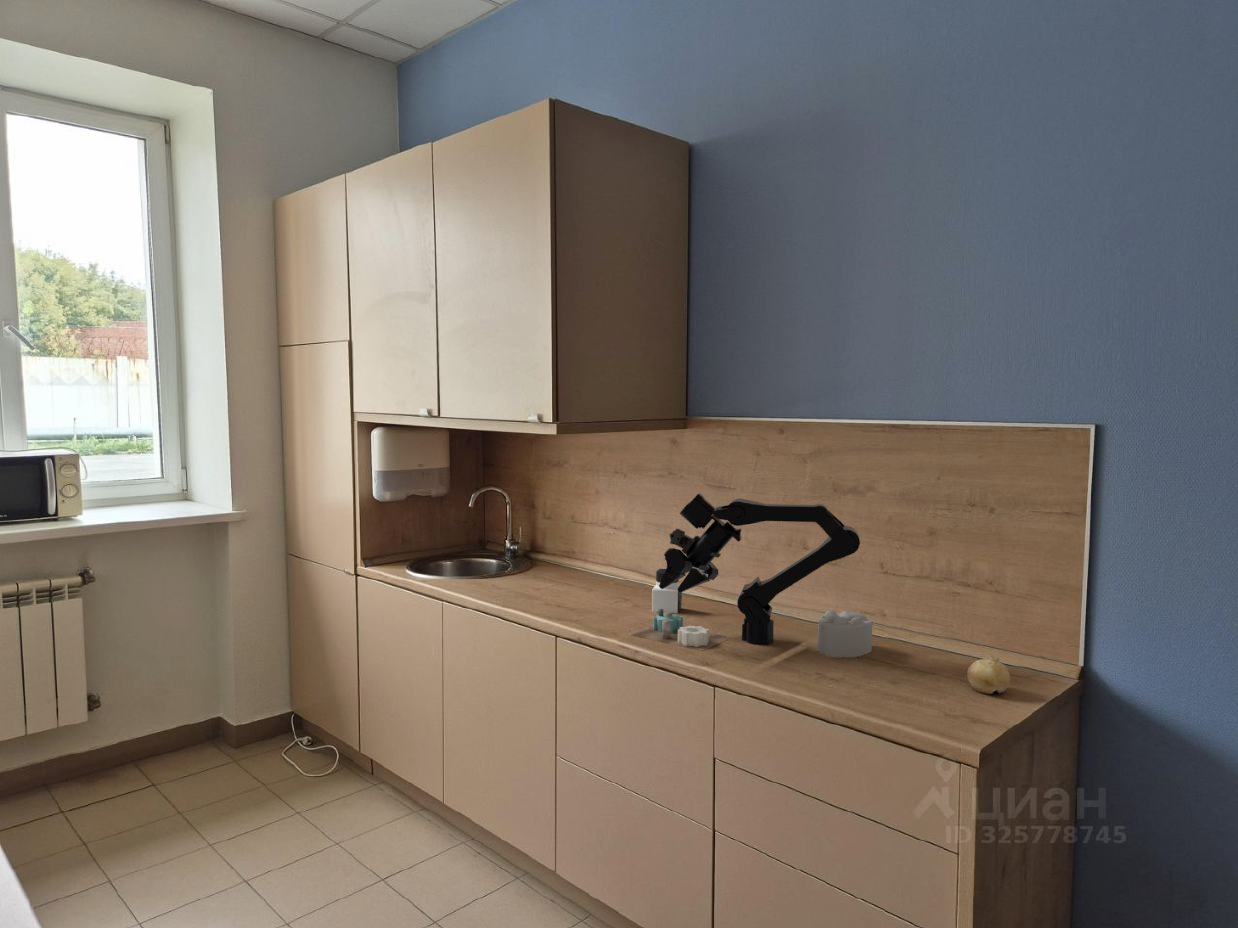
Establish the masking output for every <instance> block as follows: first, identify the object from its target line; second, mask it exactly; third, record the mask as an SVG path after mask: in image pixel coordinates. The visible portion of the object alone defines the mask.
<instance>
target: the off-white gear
mask: <svg viewBox="0 0 1238 928" xmlns="http://www.w3.org/2000/svg"><path fill="white" fill-rule="evenodd" d="M709 633H710V630H709V629H708V628H704V626H701V625H699V626H696V625H695V626H694V625H687V626H683V627H680V628H679V630H678V643H681V644H683V646H694V647H699V646H702V645H705V646H706V645H707V642H709Z"/></svg>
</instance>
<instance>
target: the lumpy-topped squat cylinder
mask: <svg viewBox="0 0 1238 928" xmlns="http://www.w3.org/2000/svg"><path fill="white" fill-rule="evenodd" d="M817 627H818V631H817V632H818V634H817V635H818V636H817V652H818V651H819V652H820V653H821V655H822V654H823V655H822V656H825V655H826V657H830V656H832V657H831V658H841V657H846V658H858V657H862V656H864V654H865V655H867V653H868V654H870V653H871V652H872V651H873V650H872V649H873V648H872V647H873V620H872V619H871V618H868V617H867V616H865V614H862V613H858V612H853V611H850V610H843V611H841V612H840V613H837V612H836V611H835V610H828V611H826V612H825V613H824V614H823V616H821V617H820V618H819V619H818V626H817ZM819 652H818V653H819ZM869 652H870V653H869ZM820 653H819V654H820ZM861 655H862V656H861ZM857 656H858V657H857Z"/></svg>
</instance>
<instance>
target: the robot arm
mask: <svg viewBox="0 0 1238 928" xmlns="http://www.w3.org/2000/svg"><path fill="white" fill-rule="evenodd" d="M679 515H680V516H682V517H683V518H684V519H685V520H686V521H687V522H689V523H690V525H692V527H694V528H695V529H696V530H698V529H703V530H704V529H705V528H706V527H707V525H708V524H709V523H710V522H711V521H712V520H713V522H712V523H711V524H710V525H709V526H708V528H707V529H706V530H705V531H704V532H703V533H702V534H701V536H698V535H696V536H694V537H691V536H688V535H686V531H684V530H682V529H680V528H676V529H675V530H673V531H672V533H670V534H669V539H670V541H669V544H670V545H675V546H677V547H679V548H681V549H678V548H675V547H670V548H668V549H667V550H666V551H665V552H664V553H663V556H664V560H665V561H666V567H665V568H666V571H665V573H664V575H663V578H662V580H661V582H660V585H659V587H660V588H661V589H664V588H666V587H667V586H669V585H671V584H672V583H674V582H676V581H677V580H678V581H679V580H680V579H682V578H683V580H682V581H681V583H680V584H679V585H680V586H679V588H678V589H677V590H678V592H679V593H681V592H682V593H683V592H686V591H688V590H691V589H693V588H694V587H697V586H700V585H702V584H705V583H707V582H710V581H715V579H716V578H717V577H718V576H719V568H717V567H716V566H715V564H714V563H713V562H712V561H713V560H714V558H719V557H721V556H722V554H721V553H720V552H721V551H722V550H723V549H724V547H726V545H727V544H728V543H729V542H730V541H731V540H732V539H735V540H736V541H737V543H738V542H741V540H742V530H743V529H742V528H736V527H741V526H746V525H752V524H758V523H761V522H762V523H763V522H791V523H792V522H793V523H795V522H796V523H797V522H799V523H801V522H802V523H816V524H817V525H818V526H819V527H820V528H821V529H822V531H824V532H825V533H826V535H827V536H828V537H827V538H826V539H825V540H824V541H823V542H822V543H821V544H820V545H819V546H818V547H817V548H815V549H813V550H812V551H810V552H809V553H808V554H806V555H804V556H803V557H801V558H800V559H798V560H797V561H795V562H793V563H792V564H790V565H789V566H788V567H786V568H784V569H783V570H781V571H779V572H778V573H776V574H775V575H773V576H771V577H770V578H768V579H765V580H762V581H761V579H760V577H759V576H757V577H756V578H754V579H753V581H751V582H749V583H746V584H744V585H743V587H742V590H741V592H740V593H739V596H738V599H737V602H736V603H737V608H738V610H739V611H740V612H741V614H743V615H744V616H745V618H743V623H742V624H741V625H742V626H741V641H744V642H746V643H747V644H750V645H753V646H754V645H756V646H768V645H771V644H773V643H774V625H775V624H774V623H775V620H773V619H771V616H772V611H773V607H772V605H770V603H771V602H772V600H774V598H775V597H777V596H778V595H779V594H780V593H782V592H783V591H784V590H787V589H788V588H790V587H791V586H792V585H794V584H796V583H798V582H799V581H800V580H802V579H804V578H806V577H807V576H809V575H810V574H812V573H814V572H815V571H817V570H818V569H819V568H821V567H823V566H825V565H826V564H829V563H831V562H834V561H837V560H841V559H843V558H846V557H848V556H851V555H853V554H855V553H856V552H857V551H858V550H859V548H860V544H861V540H860V536H859V534H858V531H857V530H856V529H855V528H853V527H852V526H848V525H845V524H844V523H843V522H842V521H841V520H840V519H839V518H838V517H836V516H835V515H834V514H833V513H832V512H831V511H830V510H829V509H828V507H827V506H826V505H825V504H822V503H817V504H780V503H779V504H777V503H775V504H774V503H773V504H769V503H763V502H759V501H754V500H750V499H744V498H736V499H733V500H732V501H731V502H730V503H729V504H727V505H722V506H721V505H719V506H717V507H715V506H713V504H712V503H710V502H709V501H708V500H707V499H706V498H705V497H704V495H703V494H701V493H698V494H696V495H695V496H694V498H693V499H692V500H691V501H690V502H688V503H687V504H686V505H685V506H684V507H683V508H682V509H681V511H680V512H679ZM723 520H724V521H726V522H724V521H723Z"/></svg>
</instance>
